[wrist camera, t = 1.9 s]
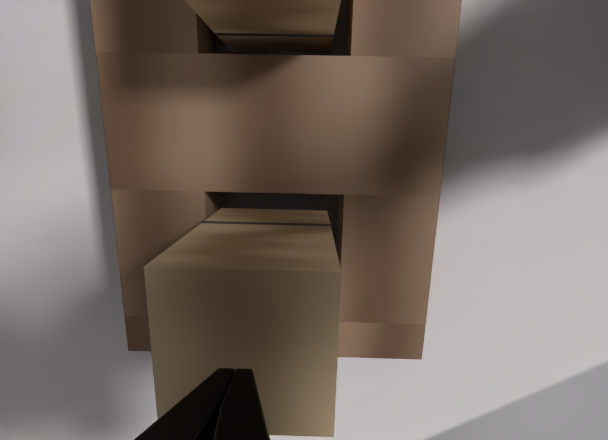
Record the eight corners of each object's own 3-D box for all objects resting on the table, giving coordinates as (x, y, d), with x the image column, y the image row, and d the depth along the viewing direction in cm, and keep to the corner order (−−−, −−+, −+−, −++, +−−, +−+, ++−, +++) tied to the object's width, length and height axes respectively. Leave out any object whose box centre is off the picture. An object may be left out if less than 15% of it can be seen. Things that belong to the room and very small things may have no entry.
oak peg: (327, 209, 17) (342, 271, 9) (324, 308, 18) (334, 437, 10) (221, 207, 17) (142, 266, 9) (224, 305, 18) (158, 431, 10)
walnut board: (452, -134, 16) (587, -397, 8) (406, 329, 21) (461, 437, 14) (112, -137, 16) (-74, -396, 8) (153, 322, 22) (64, 424, 14)
